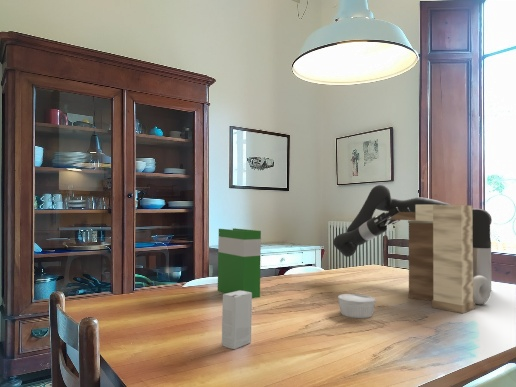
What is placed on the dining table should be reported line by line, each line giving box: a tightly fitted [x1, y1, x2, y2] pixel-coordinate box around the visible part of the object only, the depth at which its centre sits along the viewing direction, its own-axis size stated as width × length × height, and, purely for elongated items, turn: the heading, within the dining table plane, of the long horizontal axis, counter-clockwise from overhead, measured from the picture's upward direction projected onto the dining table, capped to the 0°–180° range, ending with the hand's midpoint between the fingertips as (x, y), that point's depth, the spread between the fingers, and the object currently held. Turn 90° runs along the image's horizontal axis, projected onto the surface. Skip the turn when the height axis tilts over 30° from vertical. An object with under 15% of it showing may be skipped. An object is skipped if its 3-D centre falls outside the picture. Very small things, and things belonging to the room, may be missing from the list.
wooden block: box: [431, 204, 476, 314], centre depth 130 cm, size 10×10×34 cm
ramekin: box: [337, 293, 376, 319], centre depth 120 cm, size 11×11×5 cm
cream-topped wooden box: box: [407, 220, 433, 301], centre depth 146 cm, size 12×13×28 cm
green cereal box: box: [217, 227, 262, 299], centre depth 147 cm, size 18×7×24 cm, turn 36°
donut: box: [473, 275, 491, 306], centre depth 135 cm, size 10×4×10 cm, turn 120°
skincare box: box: [221, 291, 253, 350], centre depth 92 cm, size 6×4×12 cm
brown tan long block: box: [392, 205, 433, 221], centre depth 151 cm, size 7×18×6 cm, turn 41°
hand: (403, 209), depth 155 cm, fingers open, 8 cm apart
